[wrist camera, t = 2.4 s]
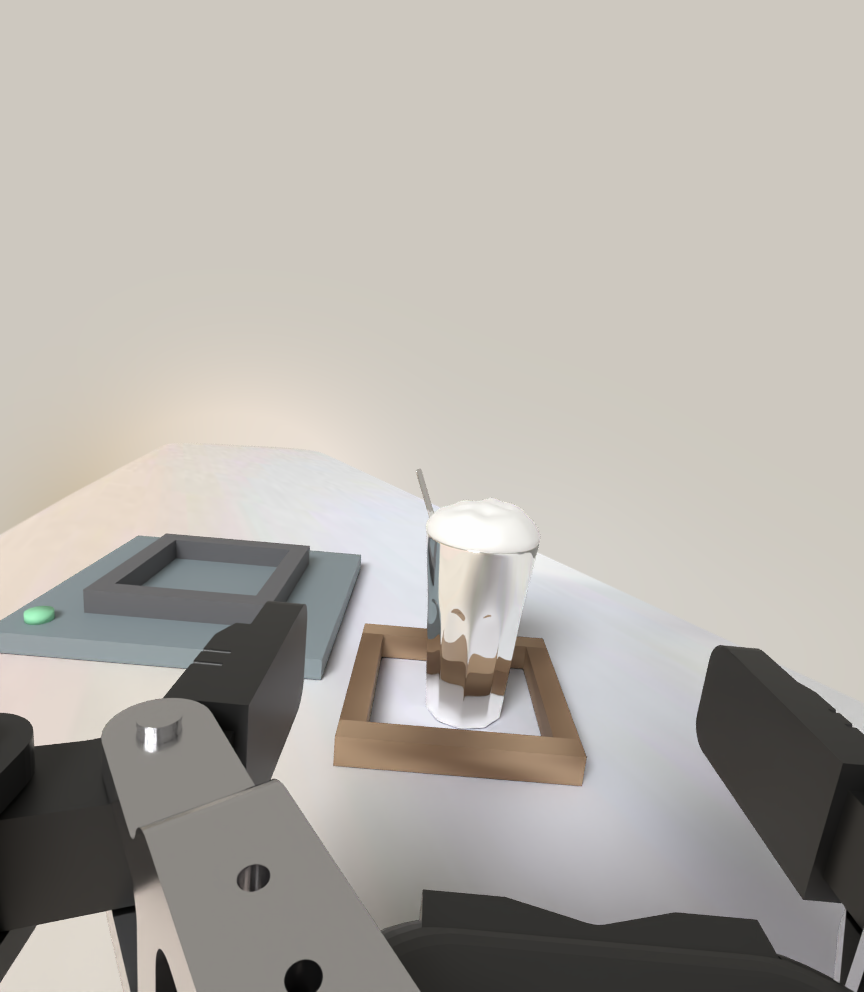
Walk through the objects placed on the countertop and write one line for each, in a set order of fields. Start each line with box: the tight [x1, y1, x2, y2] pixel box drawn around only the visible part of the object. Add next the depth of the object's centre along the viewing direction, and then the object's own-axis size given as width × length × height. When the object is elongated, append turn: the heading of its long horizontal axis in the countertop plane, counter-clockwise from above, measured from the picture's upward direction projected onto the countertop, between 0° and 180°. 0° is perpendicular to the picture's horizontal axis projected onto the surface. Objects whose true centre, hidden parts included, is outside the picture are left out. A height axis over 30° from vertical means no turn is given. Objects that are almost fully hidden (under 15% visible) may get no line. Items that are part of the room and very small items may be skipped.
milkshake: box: [416, 469, 540, 729], centre depth 25 cm, size 5×5×10 cm
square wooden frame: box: [333, 623, 587, 786], centre depth 26 cm, size 9×9×1 cm
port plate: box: [0, 534, 361, 680], centre depth 33 cm, size 15×14×2 cm
